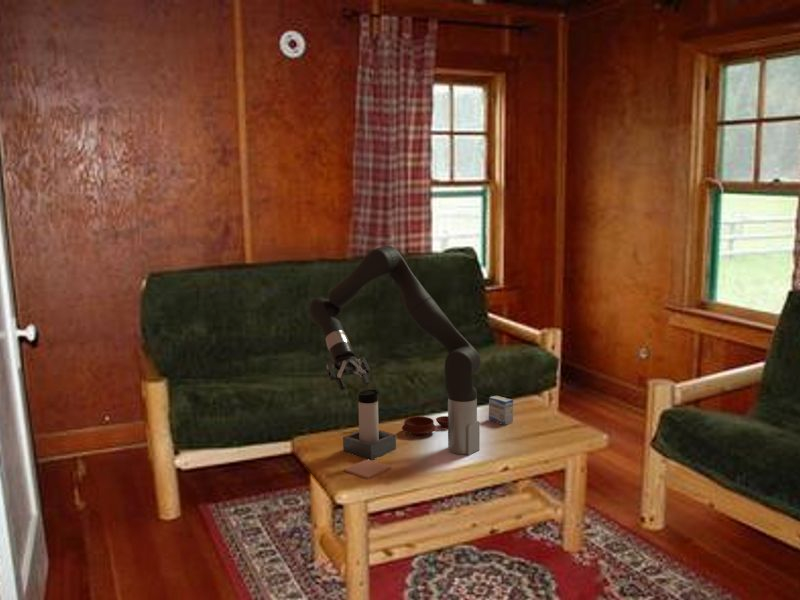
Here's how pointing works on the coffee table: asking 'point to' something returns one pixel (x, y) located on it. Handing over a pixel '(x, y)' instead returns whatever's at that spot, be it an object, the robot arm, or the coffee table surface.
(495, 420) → the medicine box
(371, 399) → the travel mug
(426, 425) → the pottery
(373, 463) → the rubber mat
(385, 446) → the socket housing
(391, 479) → the coffee table surface
